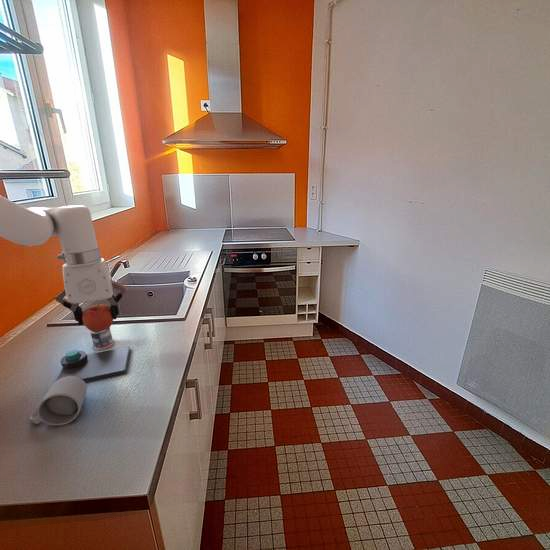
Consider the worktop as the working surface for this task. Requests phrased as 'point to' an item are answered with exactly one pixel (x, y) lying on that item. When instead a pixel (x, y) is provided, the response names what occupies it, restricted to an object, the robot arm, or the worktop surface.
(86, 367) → the scale
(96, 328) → the apple
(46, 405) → the ceramic mug
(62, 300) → the robot arm
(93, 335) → the pill bottle
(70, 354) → the tare button
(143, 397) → the worktop surface
